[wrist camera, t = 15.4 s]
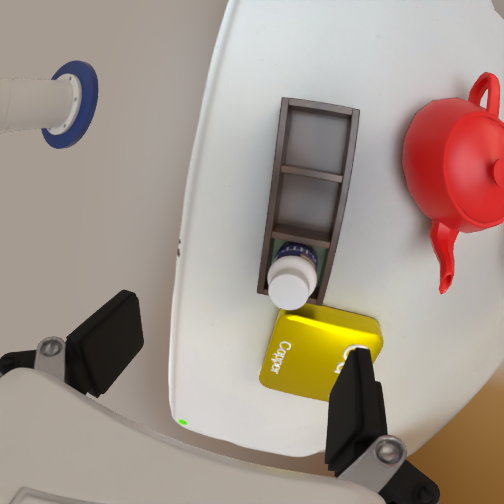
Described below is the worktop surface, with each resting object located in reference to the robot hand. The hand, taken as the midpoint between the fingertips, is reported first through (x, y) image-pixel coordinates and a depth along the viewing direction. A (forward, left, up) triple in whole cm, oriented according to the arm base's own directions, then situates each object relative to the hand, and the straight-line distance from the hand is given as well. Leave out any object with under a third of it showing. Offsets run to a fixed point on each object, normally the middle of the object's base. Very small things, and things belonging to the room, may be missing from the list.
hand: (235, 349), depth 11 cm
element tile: (+7, -19, -25) cm, 32 cm away
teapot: (+18, +10, -25) cm, 32 cm away
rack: (+1, +2, -24) cm, 25 cm away
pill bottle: (+1, -5, -24) cm, 24 cm away
